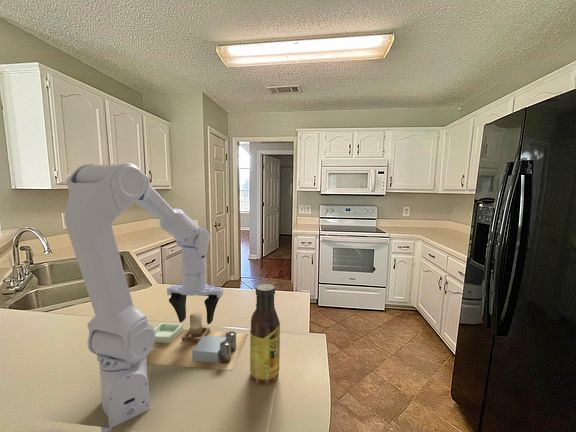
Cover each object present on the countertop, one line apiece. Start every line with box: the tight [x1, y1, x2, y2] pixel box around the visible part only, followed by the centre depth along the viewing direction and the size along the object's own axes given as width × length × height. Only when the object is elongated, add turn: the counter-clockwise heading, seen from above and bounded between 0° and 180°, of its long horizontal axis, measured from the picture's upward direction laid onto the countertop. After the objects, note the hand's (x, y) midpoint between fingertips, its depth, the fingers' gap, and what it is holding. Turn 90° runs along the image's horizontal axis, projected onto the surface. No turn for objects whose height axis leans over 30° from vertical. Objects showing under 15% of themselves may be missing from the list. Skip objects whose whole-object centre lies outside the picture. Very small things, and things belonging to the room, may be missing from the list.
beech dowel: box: [189, 311, 203, 337], centre depth 67 cm, size 3×3×6 cm
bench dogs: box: [220, 330, 237, 364], centre depth 60 cm, size 2×6×4 cm, turn 174°
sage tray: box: [154, 322, 184, 344], centre depth 67 cm, size 6×6×2 cm
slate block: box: [192, 336, 226, 363], centre depth 60 cm, size 6×6×2 cm
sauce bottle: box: [249, 283, 281, 386], centre depth 53 cm, size 6×6×20 cm
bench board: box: [146, 326, 249, 371], centre depth 63 cm, size 25×14×2 cm, turn 84°
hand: (196, 321), depth 67 cm, fingers open, 7 cm apart
